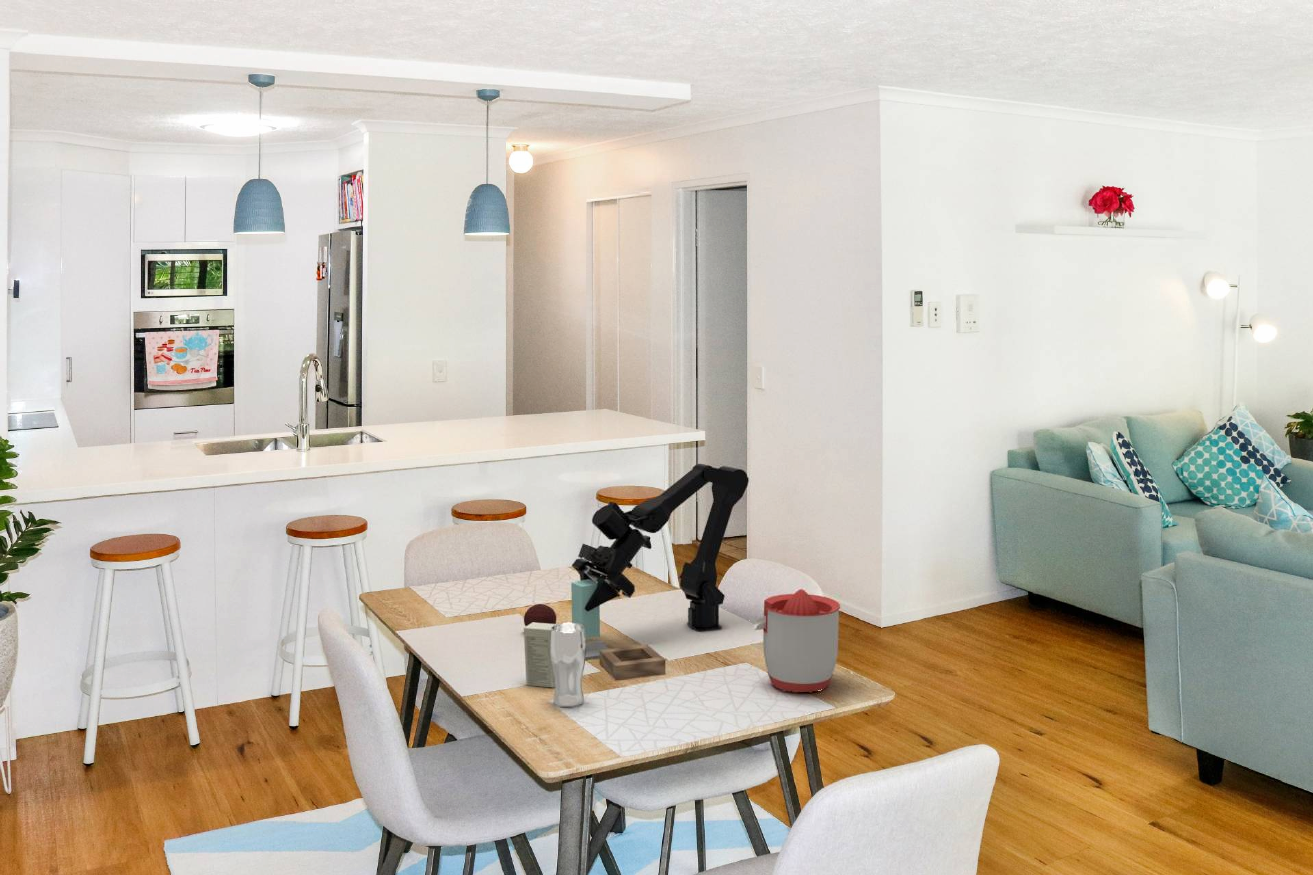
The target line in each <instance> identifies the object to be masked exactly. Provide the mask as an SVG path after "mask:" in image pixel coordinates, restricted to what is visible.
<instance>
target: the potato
mask: <svg viewBox="0 0 1313 875" xmlns="http://www.w3.org/2000/svg"><path fill="white" fill-rule="evenodd" d="M523 616H524V617H523V623H524V627H526V626H528V625H529V624H531V623H532V622H535V623H548V624H557V614H556V612H555V610H554V608H553V607H551V606H549V605H547V604H543V603H537V604H534V605H532V606H530V607H529V608H528V609H527V610H526V611H525V613H524V615H523Z"/></svg>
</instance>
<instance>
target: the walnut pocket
mask: <svg viewBox="0 0 1313 875" xmlns="http://www.w3.org/2000/svg"><path fill="white" fill-rule="evenodd" d="M599 665H601V667H602V668H603V669H604V670H605V671H606V672H607V673H608V674H609V675H610V676H611V677H612V678H613V679H614V680H615V681H618V680H628V679H633V678H634V679H635V678H641V677H649V676H650V677H651V676H656V675H664V674H666V659H665V658H664V657H663V656H662V655H661V654H659V653H658V652H657V651H656V650H654V649H653V648H652V647H651V646H650V645H649V644H641V645H640V644H639V645H631V646H623V647H622V646H621V647H616V648H609V649H605V650H600V658H599Z"/></svg>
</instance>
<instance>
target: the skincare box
mask: <svg viewBox="0 0 1313 875" xmlns="http://www.w3.org/2000/svg"><path fill="white" fill-rule="evenodd" d="M556 624H557V623H556ZM556 624H548V623H535V622H532V623H531V624H529V625H528V626H524V627H523V638H524V642H523V643H524V659H525V660H524V662H525V663H524V664H525V679H526V680H525V684H526V685H527V686H532V687H533V686H534V687H543V688H555V679H554V674H553V669H552V663H551V656H550V637H551V627H552V626H554V625H556Z"/></svg>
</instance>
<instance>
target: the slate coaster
mask: <svg viewBox="0 0 1313 875" xmlns="http://www.w3.org/2000/svg"><path fill="white" fill-rule="evenodd" d="M605 649H610V648H609V647H608V646H607V645H606V644H605V643H604V642H603V641H602V640H595V641H594V640H593V641H586V658H585V661H587V660H594V659H596V660H597V659H600V650H605Z"/></svg>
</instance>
